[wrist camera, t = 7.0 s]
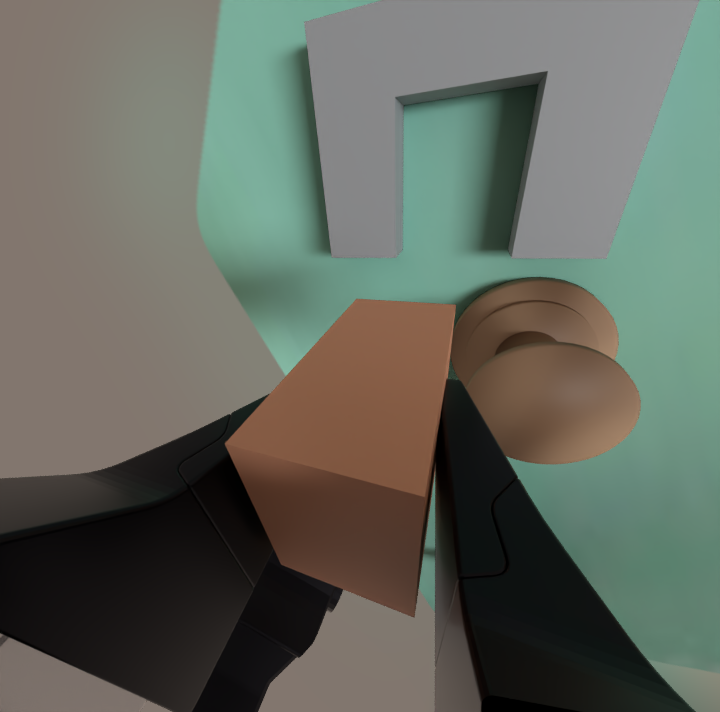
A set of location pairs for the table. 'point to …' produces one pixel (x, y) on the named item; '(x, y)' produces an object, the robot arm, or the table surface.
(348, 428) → the tab
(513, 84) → the notched board
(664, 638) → the table surface
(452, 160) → the table surface
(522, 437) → the brown door knob
